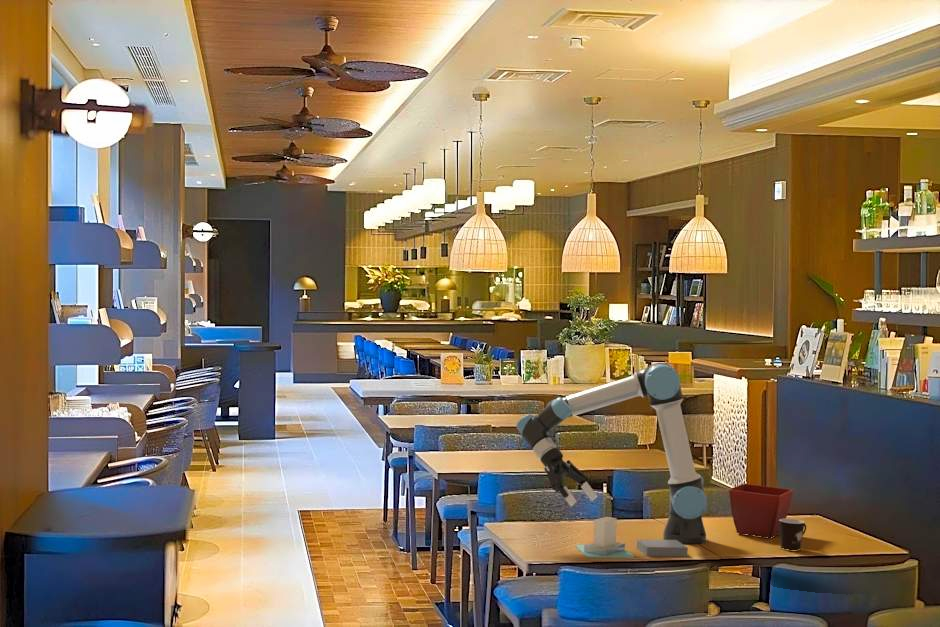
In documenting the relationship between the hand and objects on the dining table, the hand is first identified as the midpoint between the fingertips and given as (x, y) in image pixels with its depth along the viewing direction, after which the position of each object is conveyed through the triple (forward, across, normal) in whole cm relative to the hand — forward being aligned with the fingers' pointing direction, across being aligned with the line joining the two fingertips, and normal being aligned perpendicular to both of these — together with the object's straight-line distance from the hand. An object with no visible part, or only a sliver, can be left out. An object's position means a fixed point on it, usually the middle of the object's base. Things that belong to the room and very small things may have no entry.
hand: (584, 501), depth 409 cm
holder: (+17, -1, +5) cm, 18 cm away
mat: (+17, -1, +5) cm, 18 cm away
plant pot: (+36, +69, -12) cm, 79 cm away
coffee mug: (+50, +53, -26) cm, 78 cm away
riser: (+28, +13, -5) cm, 31 cm away
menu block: (+16, -1, +4) cm, 17 cm away
